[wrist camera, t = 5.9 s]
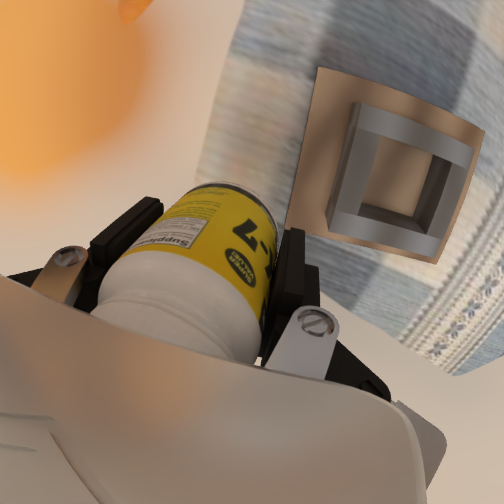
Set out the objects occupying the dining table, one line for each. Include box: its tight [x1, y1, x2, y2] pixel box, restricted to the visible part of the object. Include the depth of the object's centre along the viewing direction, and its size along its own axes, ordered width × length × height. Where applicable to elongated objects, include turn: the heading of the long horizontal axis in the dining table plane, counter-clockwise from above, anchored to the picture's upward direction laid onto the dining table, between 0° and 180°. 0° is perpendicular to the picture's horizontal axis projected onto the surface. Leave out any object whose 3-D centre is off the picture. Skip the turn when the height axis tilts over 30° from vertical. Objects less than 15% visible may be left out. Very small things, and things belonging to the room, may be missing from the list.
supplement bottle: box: [90, 182, 279, 365], centre depth 9 cm, size 5×5×8 cm
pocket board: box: [284, 67, 485, 264], centre depth 23 cm, size 18×16×5 cm
